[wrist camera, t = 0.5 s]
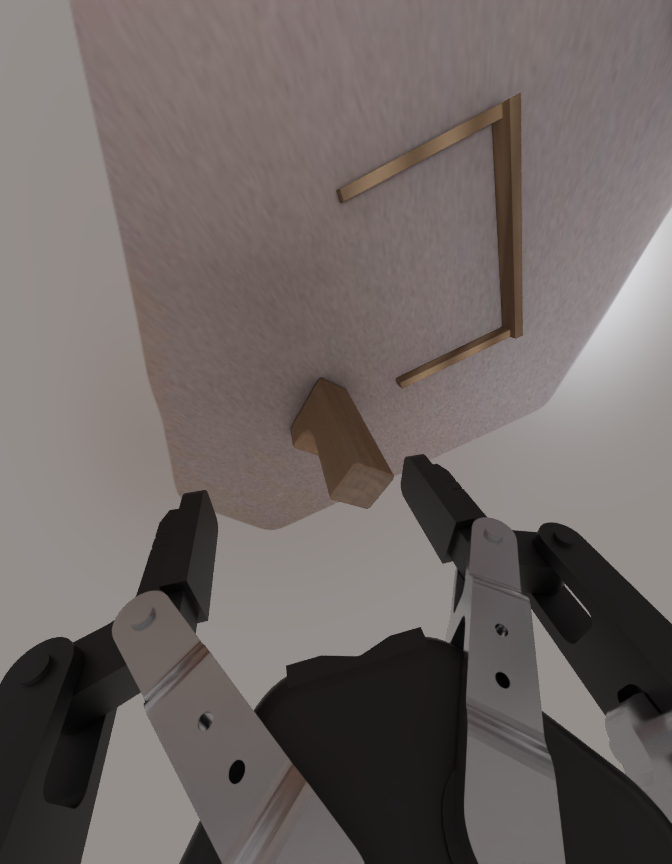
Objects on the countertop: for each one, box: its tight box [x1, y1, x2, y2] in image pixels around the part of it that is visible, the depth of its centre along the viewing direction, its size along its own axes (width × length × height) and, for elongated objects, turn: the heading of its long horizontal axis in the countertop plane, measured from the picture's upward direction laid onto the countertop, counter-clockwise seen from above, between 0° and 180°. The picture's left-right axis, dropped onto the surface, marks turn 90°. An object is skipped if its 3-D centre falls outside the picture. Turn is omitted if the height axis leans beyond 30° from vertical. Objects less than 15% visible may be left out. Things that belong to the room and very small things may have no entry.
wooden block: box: [291, 378, 394, 509], centre depth 34 cm, size 9×4×18 cm, turn 149°
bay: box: [337, 93, 523, 389], centre depth 34 cm, size 17×23×2 cm
